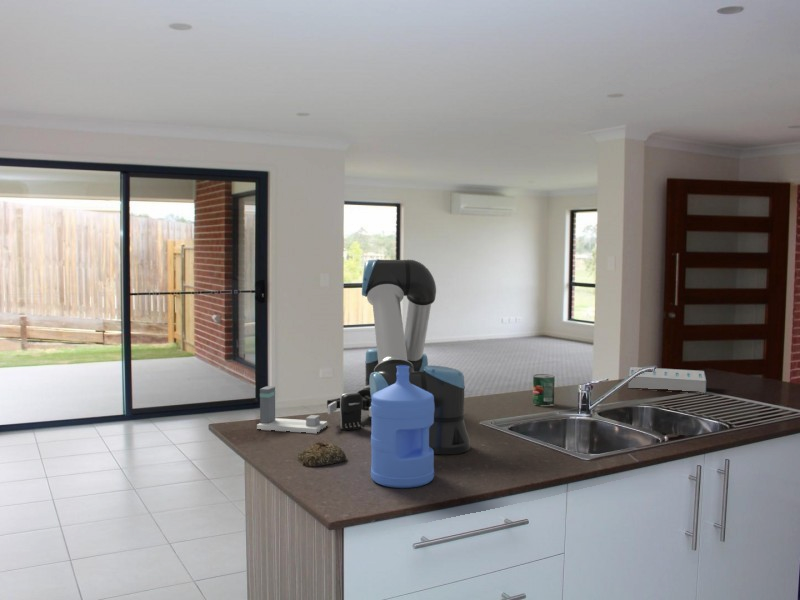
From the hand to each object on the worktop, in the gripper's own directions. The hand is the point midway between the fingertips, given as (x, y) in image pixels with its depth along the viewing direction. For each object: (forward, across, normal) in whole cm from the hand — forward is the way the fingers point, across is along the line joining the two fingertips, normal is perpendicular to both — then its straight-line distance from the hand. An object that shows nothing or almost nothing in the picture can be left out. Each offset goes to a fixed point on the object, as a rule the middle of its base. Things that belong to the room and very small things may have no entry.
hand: (349, 411), depth 217 cm
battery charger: (-3, 0, -7) cm, 7 cm away
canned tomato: (-56, -58, -7) cm, 81 cm away
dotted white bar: (-103, -107, -7) cm, 149 cm away
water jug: (+41, -27, -7) cm, 50 cm away
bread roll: (+31, -2, -7) cm, 32 cm away
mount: (0, +19, -6) cm, 20 cm away
